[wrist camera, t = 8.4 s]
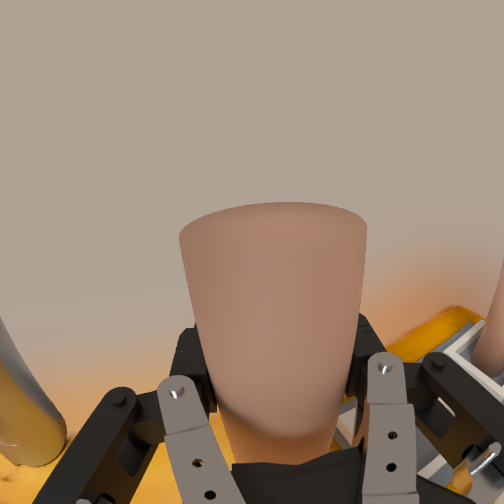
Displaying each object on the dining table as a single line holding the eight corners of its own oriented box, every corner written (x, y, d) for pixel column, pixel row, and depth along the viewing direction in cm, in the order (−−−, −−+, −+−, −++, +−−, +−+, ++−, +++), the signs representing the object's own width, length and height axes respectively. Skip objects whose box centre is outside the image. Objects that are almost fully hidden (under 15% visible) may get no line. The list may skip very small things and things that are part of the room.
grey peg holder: (398, 522, 10) (512, 427, 5) (321, 421, 22) (336, 287, 16) (532, 376, 17) (579, 265, 11) (466, 330, 28) (492, 227, 23)
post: (288, 507, 9) (296, 287, 4) (218, 458, 12) (145, 235, 8) (343, 444, 12) (390, 214, 8) (275, 409, 16) (262, 197, 11)
